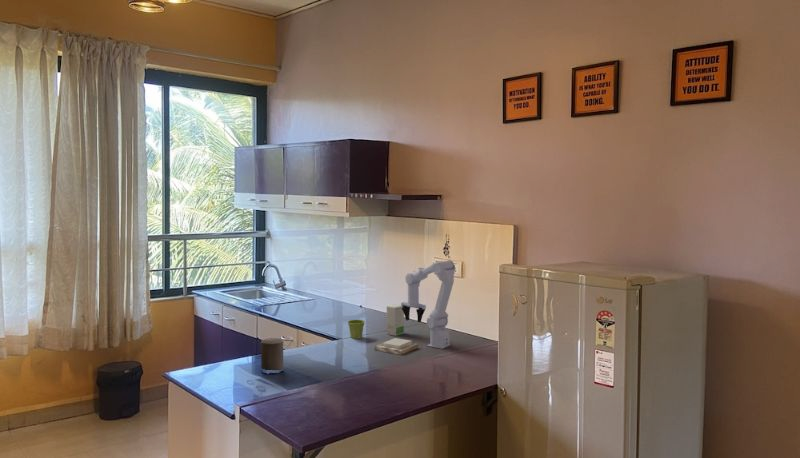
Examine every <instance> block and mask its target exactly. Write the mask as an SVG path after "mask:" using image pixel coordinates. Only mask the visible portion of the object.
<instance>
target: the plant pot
mask: <svg viewBox="0 0 800 458" xmlns="http://www.w3.org/2000/svg"><path fill="white" fill-rule="evenodd" d="M347 323H348V327H349V335H350V338H352V339H354V340H355V339H356V340H358V339H362V338H363V333H364V332H363V331H364V326H365V323H366V321H365V320H363V319H351V320H348V321H347Z"/></svg>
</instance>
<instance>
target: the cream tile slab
mask: <svg viewBox="0 0 800 458" xmlns="http://www.w3.org/2000/svg"><path fill="white" fill-rule="evenodd" d="M382 343H383V346H384V347H389V348H394V349H403V348H405V347H408V346H410V345H413V342H412V340H409V339H403V338H399V337H398V338H396V337H394V338H391V339H390V340H386V341H384V342H382Z"/></svg>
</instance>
